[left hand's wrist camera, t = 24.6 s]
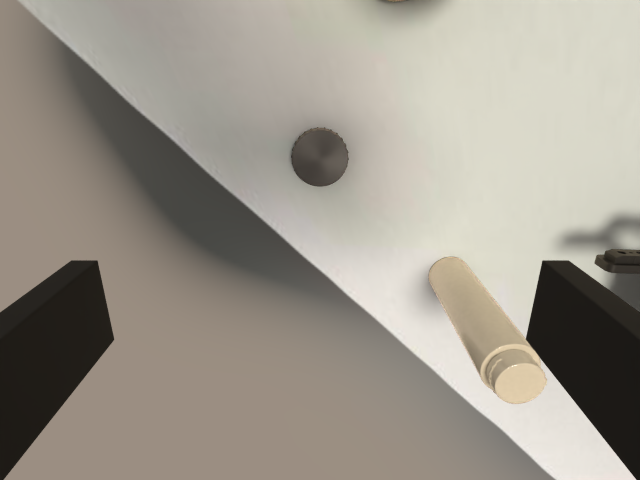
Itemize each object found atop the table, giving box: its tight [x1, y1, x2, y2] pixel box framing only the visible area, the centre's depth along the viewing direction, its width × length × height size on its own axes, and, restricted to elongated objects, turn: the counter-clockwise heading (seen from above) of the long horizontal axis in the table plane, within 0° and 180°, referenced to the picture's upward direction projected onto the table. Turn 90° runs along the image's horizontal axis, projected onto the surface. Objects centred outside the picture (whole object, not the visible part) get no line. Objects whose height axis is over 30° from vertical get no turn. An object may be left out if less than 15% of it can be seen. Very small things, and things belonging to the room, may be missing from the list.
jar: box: [429, 257, 547, 404], centre depth 35 cm, size 4×4×16 cm
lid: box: [291, 127, 348, 186], centre depth 37 cm, size 5×5×2 cm
